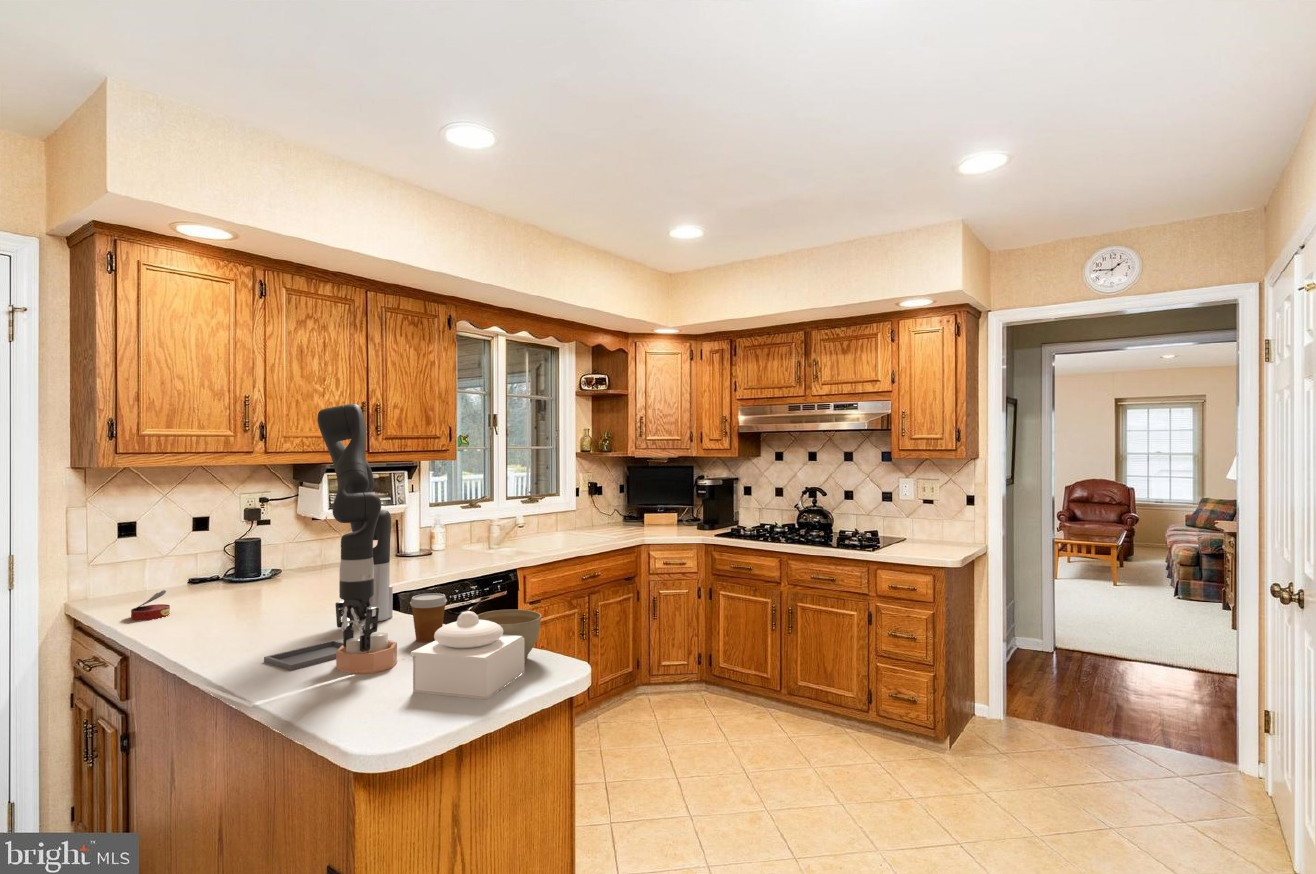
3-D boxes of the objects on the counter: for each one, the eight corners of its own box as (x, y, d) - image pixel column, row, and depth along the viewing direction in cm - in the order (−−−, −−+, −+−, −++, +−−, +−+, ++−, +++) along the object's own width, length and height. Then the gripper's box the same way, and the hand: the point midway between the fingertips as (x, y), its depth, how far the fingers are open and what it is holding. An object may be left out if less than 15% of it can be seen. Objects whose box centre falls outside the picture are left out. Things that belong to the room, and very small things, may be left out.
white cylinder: (380, 655, 172) (380, 631, 172) (391, 658, 170) (391, 634, 170) (364, 660, 168) (364, 635, 168) (375, 663, 166) (375, 638, 166)
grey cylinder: (359, 661, 167) (359, 636, 168) (370, 664, 165) (370, 639, 165) (342, 666, 164) (342, 640, 164) (353, 669, 161) (353, 643, 162)
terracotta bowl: (375, 654, 176) (375, 636, 176) (408, 663, 169) (408, 644, 169) (325, 668, 165) (325, 649, 165) (358, 678, 158) (358, 658, 158)
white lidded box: (524, 674, 161) (524, 604, 161) (485, 701, 143) (485, 623, 144) (456, 668, 165) (456, 600, 166) (410, 693, 148) (411, 618, 148)
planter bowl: (539, 670, 163) (539, 623, 163) (468, 672, 161) (468, 625, 162) (543, 650, 179) (543, 607, 179) (479, 652, 177) (479, 609, 178)
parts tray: (334, 646, 183) (334, 640, 183) (361, 654, 176) (361, 647, 176) (263, 664, 168) (263, 657, 168) (290, 673, 161) (290, 665, 162)
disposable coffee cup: (412, 648, 182) (412, 601, 182) (407, 639, 190) (407, 595, 190) (450, 643, 186) (450, 598, 186) (443, 635, 194) (443, 591, 195)
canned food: (147, 636, 213) (131, 610, 209) (131, 628, 218) (116, 603, 214) (184, 612, 222) (169, 587, 217) (168, 605, 227) (154, 581, 222)
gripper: (389, 577, 164) (389, 649, 164) (353, 572, 172) (353, 640, 172) (360, 582, 158) (360, 657, 157) (324, 576, 166) (324, 647, 165)
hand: (356, 648), depth 164 cm, fingers open, 6 cm apart
